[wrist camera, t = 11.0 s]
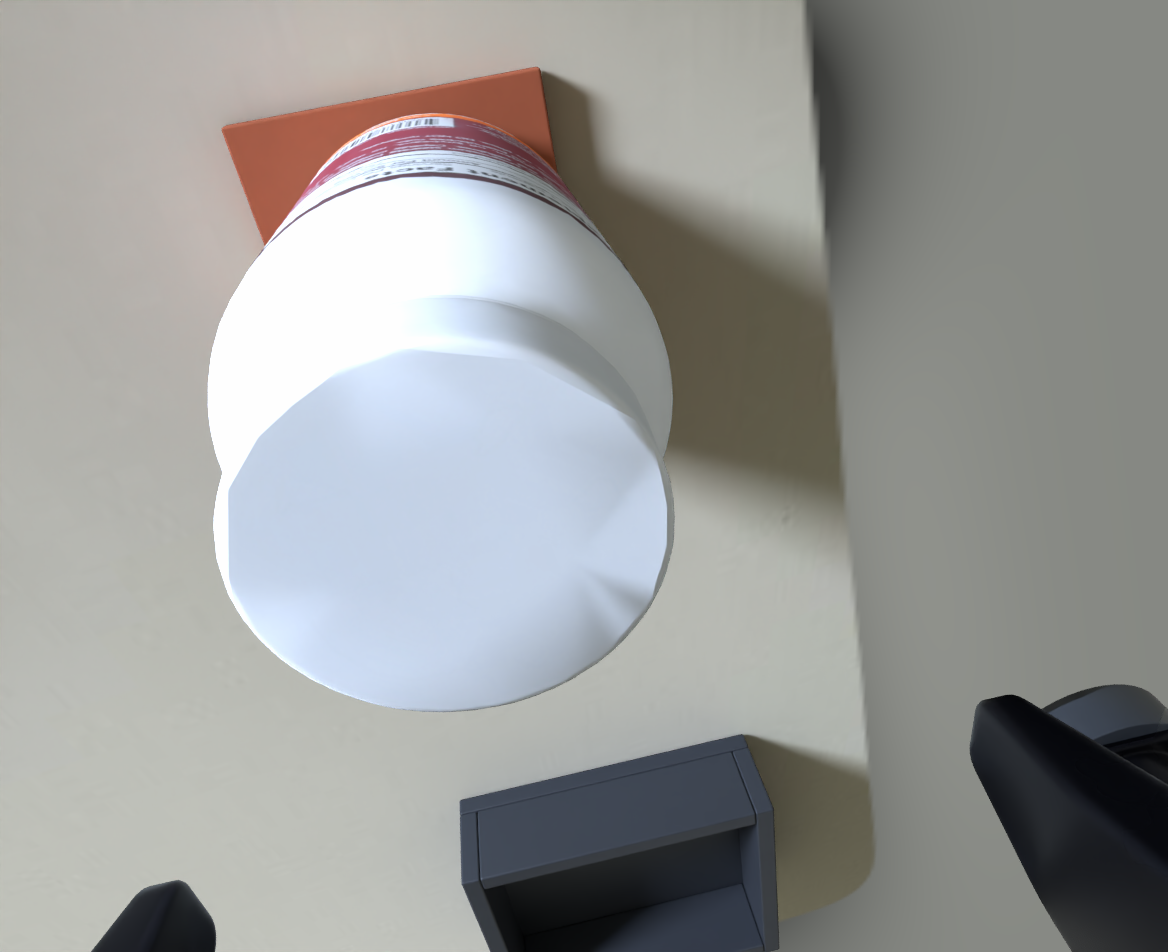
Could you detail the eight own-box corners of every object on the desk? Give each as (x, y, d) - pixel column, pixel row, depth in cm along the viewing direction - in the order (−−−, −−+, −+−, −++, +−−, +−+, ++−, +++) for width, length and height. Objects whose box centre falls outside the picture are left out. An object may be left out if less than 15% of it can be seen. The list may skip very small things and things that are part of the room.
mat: (537, 66, 16) (540, 67, 16) (586, 353, 19) (588, 359, 19) (224, 125, 16) (220, 127, 15) (329, 406, 19) (327, 414, 19)
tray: (742, 733, 28) (774, 809, 25) (752, 873, 32) (779, 949, 30) (459, 799, 27) (461, 884, 25) (510, 932, 32) (516, 1015, 29)
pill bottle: (503, 428, 20) (558, 813, 10) (256, 315, 17) (38, 683, 8) (637, 205, 17) (863, 441, 8) (372, 40, 15) (257, 103, 6)
